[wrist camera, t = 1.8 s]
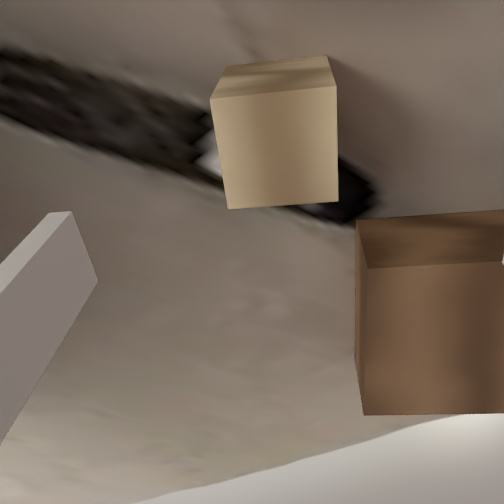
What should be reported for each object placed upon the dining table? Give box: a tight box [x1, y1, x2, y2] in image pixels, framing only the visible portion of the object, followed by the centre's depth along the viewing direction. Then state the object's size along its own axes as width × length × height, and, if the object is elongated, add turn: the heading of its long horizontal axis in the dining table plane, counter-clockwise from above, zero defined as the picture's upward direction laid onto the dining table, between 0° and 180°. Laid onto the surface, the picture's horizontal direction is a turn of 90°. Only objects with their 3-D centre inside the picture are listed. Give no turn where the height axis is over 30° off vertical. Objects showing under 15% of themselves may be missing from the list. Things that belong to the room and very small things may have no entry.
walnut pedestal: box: [355, 210, 504, 416], centre depth 28 cm, size 12×12×5 cm
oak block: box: [209, 55, 338, 209], centre depth 21 cm, size 5×5×6 cm
